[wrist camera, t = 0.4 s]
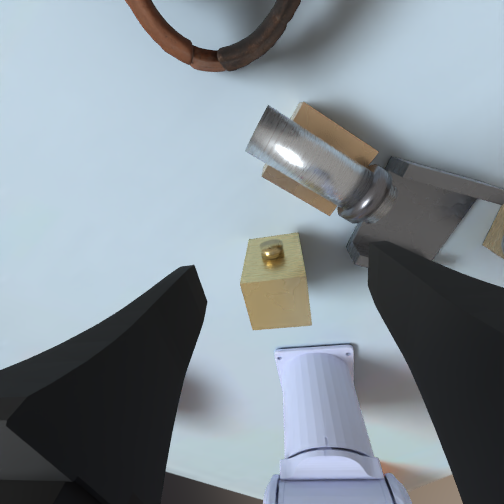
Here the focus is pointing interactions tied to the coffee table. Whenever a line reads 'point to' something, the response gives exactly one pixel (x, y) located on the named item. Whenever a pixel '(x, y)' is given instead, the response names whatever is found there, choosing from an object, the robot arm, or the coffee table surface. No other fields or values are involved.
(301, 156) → the shaft
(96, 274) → the coffee table surface
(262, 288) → the block
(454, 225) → the cradle
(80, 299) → the coffee table surface
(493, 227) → the shaft
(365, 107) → the coffee table surface
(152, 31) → the pottery mug
